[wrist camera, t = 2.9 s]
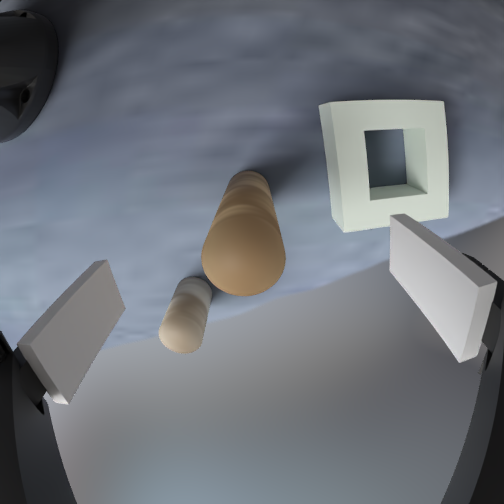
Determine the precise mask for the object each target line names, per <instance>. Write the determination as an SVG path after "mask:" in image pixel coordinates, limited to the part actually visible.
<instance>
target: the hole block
mask: <svg viewBox="0 0 504 504" xmlns="http://www.w3.org/2000/svg"><path fill="white" fill-rule="evenodd" d="M319 113H320V119H321V126H322V133H323V140H324V147H325V155H326V163H327V171H328V180H329V190H330V199H331V210H332V218H333V219H334V221H335V222H336V223H337V224H338V226H339V227H340V228H341V229H342V231H343V232H344V233H346V232H353V231H360V230H366V229H373V228H379V227H386V226H390V215H396V214H403V213H405V214H406V215H408V216H409V217H411V218H413V219H414V220H416V221H417V222H420V221H426V220H433V219H440V218H447V217H448V209H449V162H448V142H447V129H446V118H445V109H444V101H430V100H359V101H340V102H329V103H325V104H322V105H319ZM385 129H403V135H404V146H405V159H406V177H407V184H401V185H392V186H383V187H374V188H369V177H368V165H367V154H366V145H365V136H364V131H367V130H385Z"/></svg>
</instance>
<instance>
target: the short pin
mask: <svg viewBox="0 0 504 504" xmlns="http://www.w3.org/2000/svg"><path fill="white" fill-rule="evenodd" d="M211 299H212V290H211V288H210V286H209V284H208V283H207V282H205V281H204V280H202V279H200V278H197V277H187V278H185V279H183V280H181V281H180V282H179V284H178V286H177V288H176V290H175V293H174V295H173V297H172V300H171V302H170V304H169V307H168V309H167V312H166V314H165V316H164V319H163V321H162V324H161V326H160V329H159V337H160V340H161V341H162V343H163V344H164V345H165V346H166V347H167V348H168V349H170V350H172V351H175V352H177V353H192V352H194V351H196V350H197V349H198V348H199V347H200V346H201V344H202V340H203V335H204V331H205V326H206V321H207V317H208V312H209V308H210V303H211Z"/></svg>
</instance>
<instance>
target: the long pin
mask: <svg viewBox="0 0 504 504" xmlns="http://www.w3.org/2000/svg"><path fill="white" fill-rule="evenodd" d="M201 260H202V266H203V269H204V272H205V274H206V276H207V277H208V279H209V280H210V281H211V282H212V283H213V284H214V285H215V286H216V287H217V288H219V289H220V290H222V291H224V292H226V293H229V294H232V295H237V296H251V295H256V294H259V293H262V292H264V291H266V290H267V289H269V288H270V287H272V286H273V285H274V284H275V283H276V282H277V281H278V279H279V278H280V276H281V275H282V273H283V270H284V267H285V260H286V257H285V250H284V245H283V241H282V237H281V233H280V229H279V225H278V221H277V217H276V213H275V209H274V205H273V201H272V197H271V193H270V189H269V185H268V183H267V181H266V179H265V178H264V177H263V176H262V175H261V174H259V173H257V172H254V171H242V172H239V173H237V174H236V175H235V176H233V177H232V179H231V180H230V182H229V184H228V186H227V189H226V191H225V193H224V196H223V198H222V201H221V203H220V206H219V208H218V210H217V213H216V215H215V218H214V220H213V223H212V225H211V228H210V230H209V233H208V235H207V238H206V240H205V243H204V245H203V249H202V255H201Z"/></svg>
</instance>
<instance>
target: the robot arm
mask: <svg viewBox="0 0 504 504" xmlns="http://www.w3.org/2000/svg"><path fill="white" fill-rule="evenodd" d="M0 1H1V0H0ZM57 60H58V41H57V35H56V32H55V29H54V27H53V25H52V24H51V22H50V21H49V20H48V19H47V18H46V17H44V16H42V15H40V14H37V13H34V12H32V11H28V10H15V11H8V12H2V13H0V143H2V142H6V141H10V140H12V139H14V138H16V137H17V136H19V135H20V134H21V133H22V132H24V131H25V130H26V129H27V128H28V127H29V126H30V124H31V123H32V122H33V121H34V119H35V118H36V116H37V115H38V113H39V112H40V110H41V108H42V107H43V105H44V103H45V101H46V99H47V96H48V94H49V91H50V89H51V86H52V83H53V80H54V76H55V72H56V67H57ZM390 272H391V273H392V274H393V276H394V277H395V278H396V279H397V280H398V282H399V283H400V284H401V285H402V287H403V288H404V289H405V290H406V292H407V293H408V294H409V295H410V296H411V298H412V299H413V300H414V302H415V303H416V304H417V306H418V307H419V308H420V309H421V311H422V312H423V313H424V315H425V316H426V317H427V319H428V320H429V321H430V323H431V324H432V325H433V327H434V328H435V329H436V331H437V332H438V333H439V334H440V336H441V337H442V339H443V340H444V341H445V343H446V344H447V346H448V347H449V349H450V350H451V352H452V353H453V354H454V356H455V357H456V359H457V360H458V362H459V363H460V362H462V361H465V360H468V359H470V358H473V357H476V356H477V354H478V351H479V348H480V345H481V342H483V343H484V344H485V345H486V347H487V348H488V349H487V352H486V354H485V357H484V360H483V363H482V365H481V368H480V370H479V374H481V373H482V375H481V381H480V386H479V390H478V395H477V399H476V404H475V408H474V412H473V415H472V419H471V423H470V426H469V430H468V433H467V437H466V440H465V443H464V446H463V449H462V452H461V455H460V458H459V461H458V463H457V466H456V469H455V471H454V474H453V476H452V479H451V481H450V484H449V486H448V489H447V491H446V493H445V495H444V498H443V500H442V502H441V504H504V281H503V280H502V279H501V278H499V277H498V276H497V275H496V274H494V273H493V272H492V271H490V270H488V268H487V267H485V266H484V265H482V263H480V262H479V261H478V260H476V259H475V258H474V257H471V256H469V255H466V254H464V253H461V252H459V251H458V250H457V249H455V248H454V247H453V246H451V245H450V244H448V243H447V242H446V241H444V240H443V239H441V238H440V237H439V236H437V235H436V234H434V233H433V232H432V231H430V230H429V229H427V228H426V227H424V226H423V225H421V224H420V223H418V222H417V221H416V220H414V219H413V218H411V217H409V216H408V215H406V214H405V213H403V214H396V215H390ZM125 309H126V308H125V306H124V303H123V301H122V298H121V296H120V293H119V291H118V288H117V285H116V283H115V280H114V277H113V274H112V272H111V269H110V266H109V263H108V260H102V261H96V262H94V263H93V264H92V265H91V266H90V267H89V268H88V269H87V270H86V271H85V272H84V273H83V274H82V275H81V276H80V277H79V278H78V279H77V280H76V281H75V282H74V283H73V284H72V285H71V286H70V287H69V288H68V289H67V290H66V291H65V292H64V293H63V294H62V295H61V296H60V297H59V298H58V299H57V300H56V301H55V302H54V303H53V304H52V305H51V306H50V307H49V308H48V309H47V311H46V312H45V313H44V314H43V315H42V316H41V317H40V318H39V319H38V320H37V321H36V323H35V324H34V325H33V326H32V327H31V328H30V329H29V330H28V331H27V333H26V334H25V335H24V336H23V337H22V338H21V340H20V341H19V342H18V343H17V346H18V347H17V348H16V349H15V350H14V351H12V349H11V347H10V346H9V344H8V342H7V341H6V339H5V337H4V335H3V333H2V331H0V504H77V502H76V500H75V497H74V495H73V492H72V489H71V486H70V484H69V481H68V478H67V475H66V472H65V469H64V466H63V463H62V459H61V456H60V453H59V449H58V445H57V442H56V438H55V434H54V430H53V426H52V422H51V417H50V413H49V407H48V404H47V402H46V400H45V399H44V398H43V396H44V394H45V393H46V391H47V392H48V394H49V395H50V396H51V398H52V399H53V400H54V402H56V403H62V404H69V403H70V402H71V400H72V398H73V396H74V394H75V393H76V391H77V389H78V387H79V385H80V384H81V382H82V380H83V378H84V377H85V374H86V373H87V371H88V370H89V368H90V366H91V364H92V363H93V361H94V359H95V357H96V356H97V354H98V352H99V351H100V349H101V347H102V346H103V344H104V342H105V341H106V339H107V337H108V336H109V334H110V333H111V331H112V329H113V328H114V326H115V324H116V323H117V321H118V320H119V318H120V317H121V315H122V313H123V312H124V310H125Z"/></svg>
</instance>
